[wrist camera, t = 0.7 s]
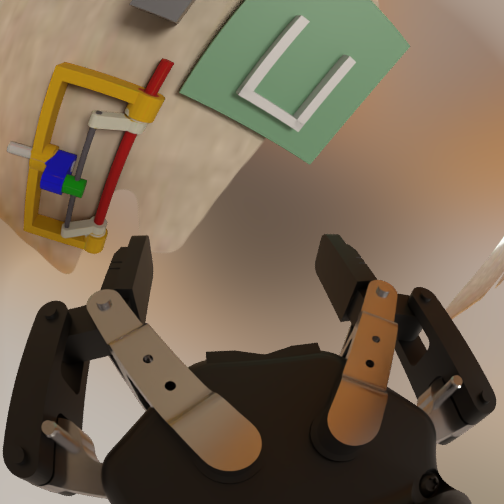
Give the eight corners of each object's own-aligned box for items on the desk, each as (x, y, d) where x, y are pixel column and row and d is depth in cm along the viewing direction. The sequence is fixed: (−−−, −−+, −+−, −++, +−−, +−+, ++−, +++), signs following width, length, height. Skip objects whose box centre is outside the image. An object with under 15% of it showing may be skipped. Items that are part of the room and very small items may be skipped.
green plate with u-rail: (179, 90, 28) (179, 95, 26) (297, -54, 15) (307, -60, 13) (305, 159, 38) (314, 169, 36) (403, 44, 26) (417, 48, 24)
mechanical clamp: (183, 72, 22) (97, 273, 37) (183, 65, 26) (103, 244, 41) (27, 25, 12) (-6, 241, 27) (51, 23, 16) (9, 215, 32)
